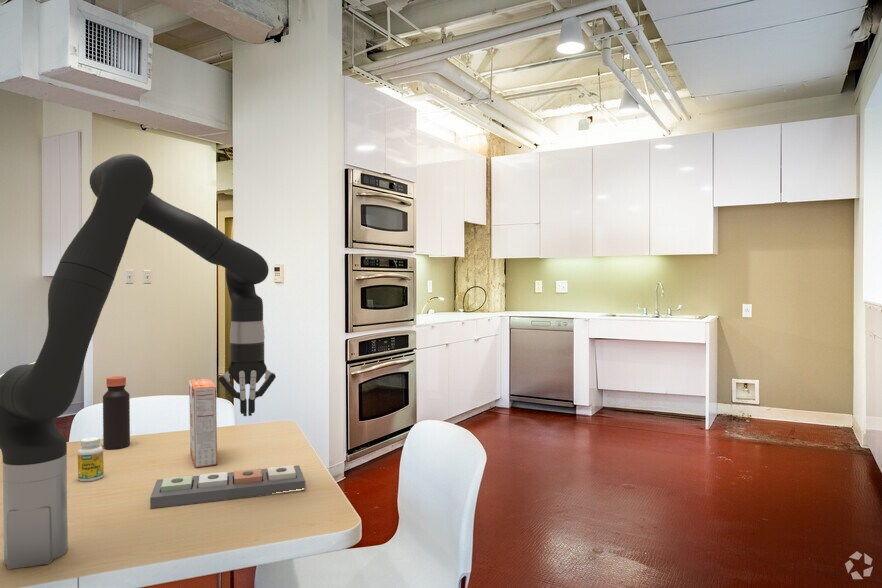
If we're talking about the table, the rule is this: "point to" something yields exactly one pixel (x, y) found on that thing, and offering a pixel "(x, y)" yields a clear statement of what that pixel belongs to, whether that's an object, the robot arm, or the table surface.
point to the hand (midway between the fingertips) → (247, 415)
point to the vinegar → (116, 414)
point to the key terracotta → (247, 476)
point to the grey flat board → (224, 490)
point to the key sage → (177, 483)
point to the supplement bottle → (90, 460)
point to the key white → (212, 480)
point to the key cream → (281, 473)
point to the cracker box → (203, 422)
